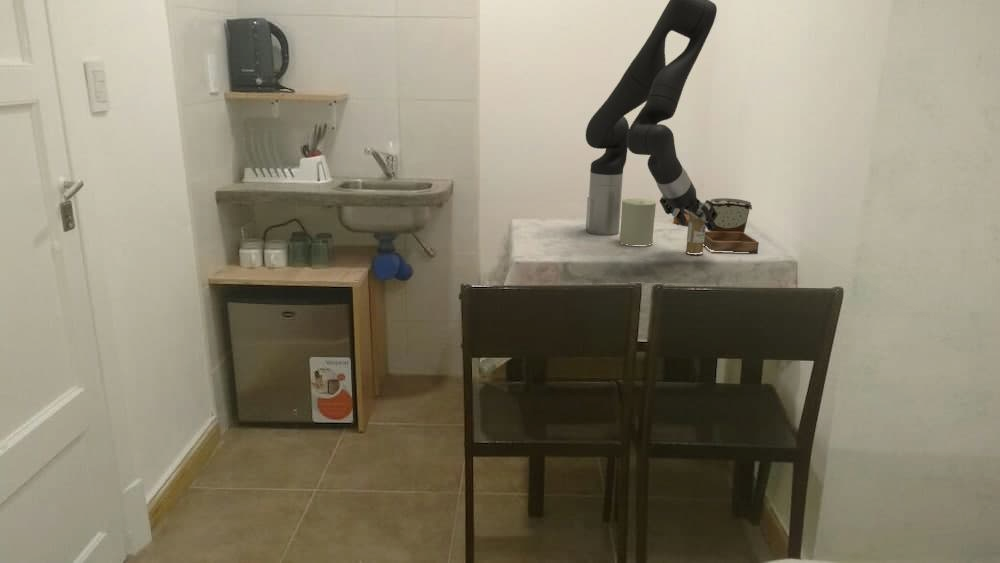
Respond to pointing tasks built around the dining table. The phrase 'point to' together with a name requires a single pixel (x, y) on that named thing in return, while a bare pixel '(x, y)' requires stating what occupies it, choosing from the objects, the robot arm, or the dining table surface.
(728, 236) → the box
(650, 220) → the can
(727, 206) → the food container
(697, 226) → the sprinkles bottle
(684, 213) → the pretzel
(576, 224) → the dining table surface
